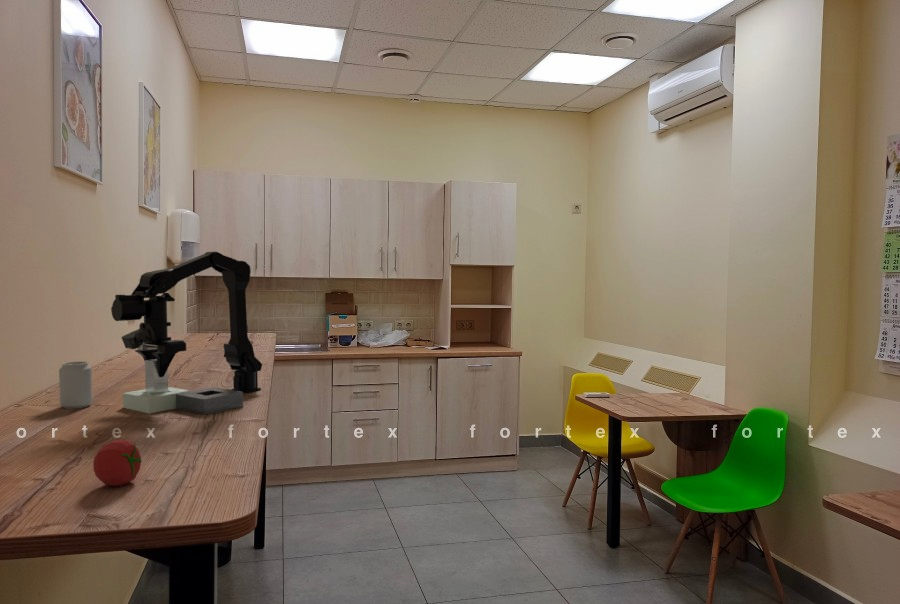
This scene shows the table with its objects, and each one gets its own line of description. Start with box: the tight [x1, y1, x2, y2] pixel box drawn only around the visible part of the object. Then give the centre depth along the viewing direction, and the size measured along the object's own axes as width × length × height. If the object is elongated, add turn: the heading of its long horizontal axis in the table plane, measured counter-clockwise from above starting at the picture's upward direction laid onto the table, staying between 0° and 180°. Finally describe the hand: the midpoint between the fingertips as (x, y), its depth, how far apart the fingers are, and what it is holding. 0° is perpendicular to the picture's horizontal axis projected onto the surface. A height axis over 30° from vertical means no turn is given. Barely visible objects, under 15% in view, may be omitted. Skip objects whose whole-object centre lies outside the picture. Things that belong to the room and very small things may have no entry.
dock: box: [122, 386, 191, 414], centre depth 168 cm, size 12×12×4 cm
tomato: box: [92, 439, 143, 487], centre depth 108 cm, size 8×8×8 cm
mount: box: [175, 386, 244, 416], centre depth 167 cm, size 12×12×4 cm
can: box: [58, 360, 93, 410], centre depth 167 cm, size 8×8×12 cm
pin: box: [144, 359, 169, 395], centre depth 168 cm, size 4×4×10 cm
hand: (156, 376), depth 168 cm, fingers closed on pin, 4 cm apart
